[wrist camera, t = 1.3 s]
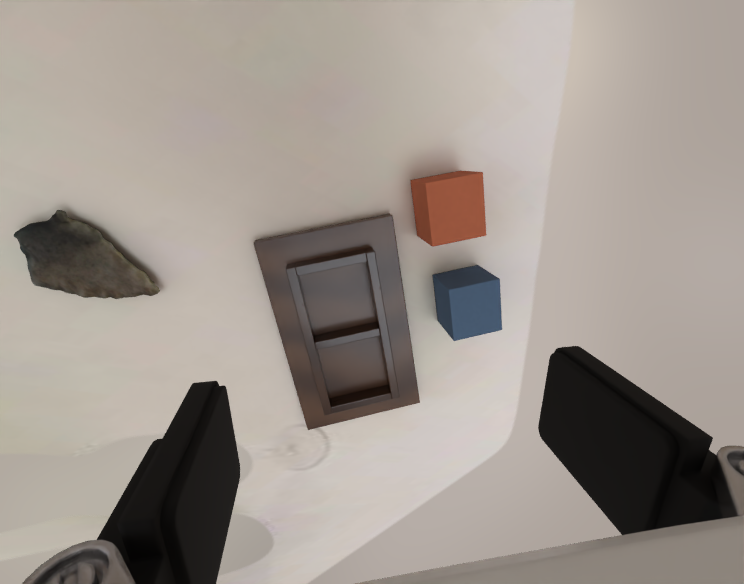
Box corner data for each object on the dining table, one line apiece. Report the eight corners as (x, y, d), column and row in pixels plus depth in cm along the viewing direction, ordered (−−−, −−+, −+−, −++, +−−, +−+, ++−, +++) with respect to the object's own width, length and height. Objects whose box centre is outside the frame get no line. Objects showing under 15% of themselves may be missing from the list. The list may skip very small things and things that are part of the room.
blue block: (432, 274, 35) (448, 289, 31) (477, 264, 36) (499, 278, 31) (437, 320, 37) (453, 341, 33) (480, 311, 37) (502, 330, 33)
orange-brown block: (410, 180, 32) (425, 183, 28) (460, 170, 32) (482, 172, 28) (417, 236, 34) (432, 246, 29) (464, 226, 34) (486, 235, 30)
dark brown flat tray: (254, 240, 32) (250, 246, 29) (389, 213, 33) (396, 217, 30) (308, 423, 39) (307, 440, 36) (417, 397, 40) (423, 411, 37)
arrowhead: (165, 297, 32) (159, 303, 31) (36, 292, 30) (23, 298, 29) (158, 215, 30) (151, 217, 28) (18, 204, 28) (3, 206, 27)
